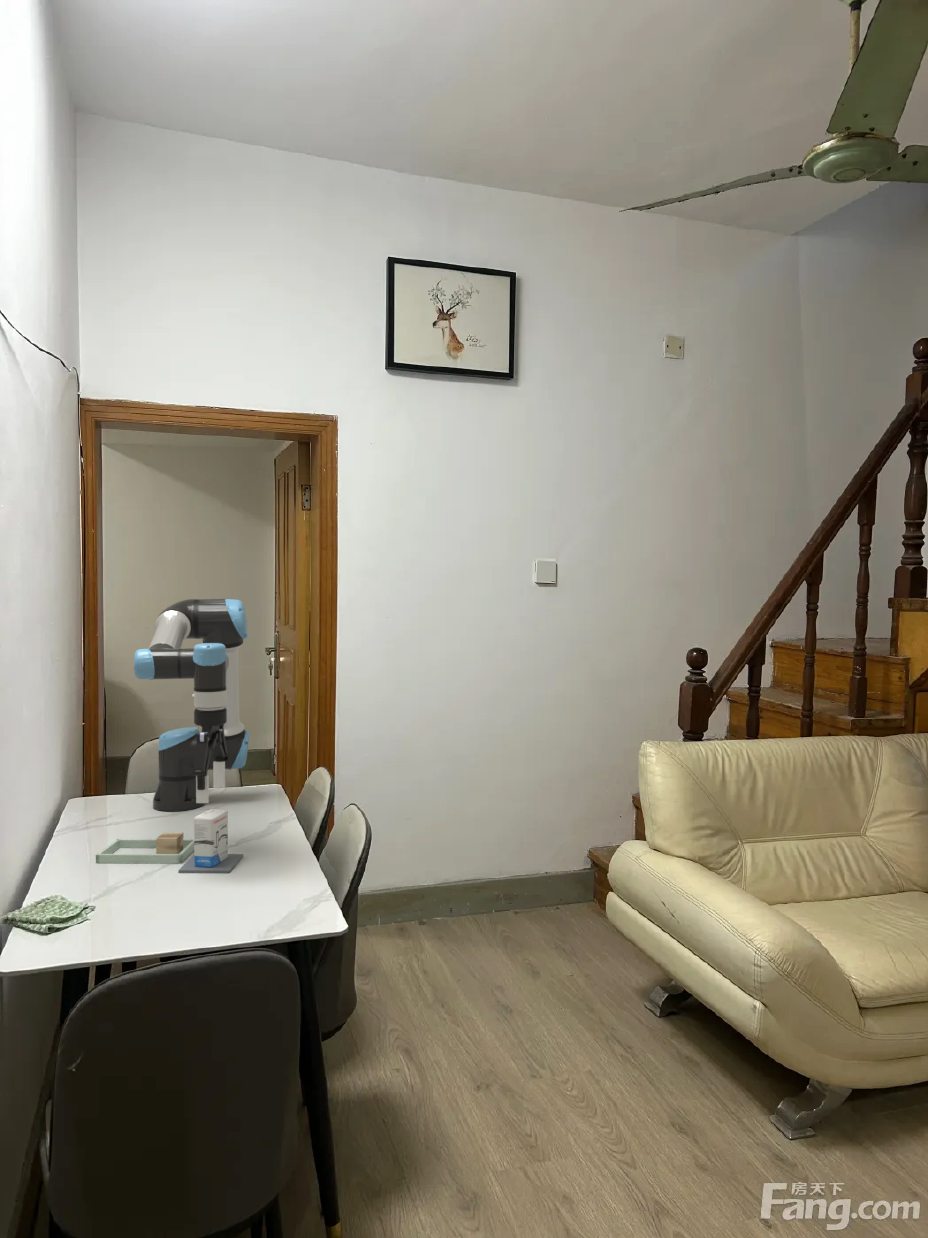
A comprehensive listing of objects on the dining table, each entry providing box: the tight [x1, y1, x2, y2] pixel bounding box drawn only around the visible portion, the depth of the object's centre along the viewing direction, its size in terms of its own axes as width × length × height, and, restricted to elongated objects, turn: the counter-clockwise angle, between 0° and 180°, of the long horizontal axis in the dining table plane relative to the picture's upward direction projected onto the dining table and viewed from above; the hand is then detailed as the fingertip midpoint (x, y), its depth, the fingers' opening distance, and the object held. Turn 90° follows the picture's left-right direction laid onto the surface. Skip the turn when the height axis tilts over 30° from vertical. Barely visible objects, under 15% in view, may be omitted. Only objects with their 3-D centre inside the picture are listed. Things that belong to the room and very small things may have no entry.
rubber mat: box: [178, 853, 244, 874], centre depth 202 cm, size 12×12×1 cm
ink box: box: [193, 808, 229, 867], centre depth 202 cm, size 9×5×12 cm, turn 169°
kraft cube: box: [155, 832, 184, 854], centre depth 209 cm, size 5×5×5 cm
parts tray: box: [95, 838, 194, 864], centre depth 209 cm, size 13×21×2 cm, turn 90°
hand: (211, 795), depth 202 cm, fingers open, 13 cm apart
